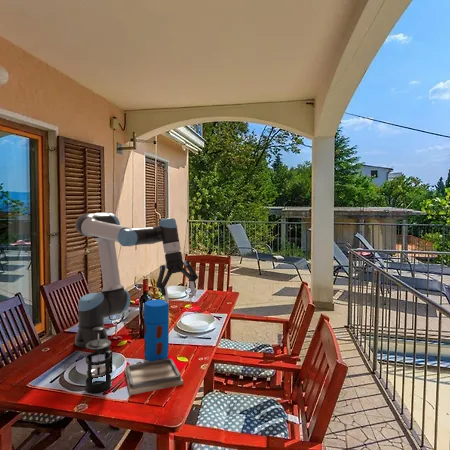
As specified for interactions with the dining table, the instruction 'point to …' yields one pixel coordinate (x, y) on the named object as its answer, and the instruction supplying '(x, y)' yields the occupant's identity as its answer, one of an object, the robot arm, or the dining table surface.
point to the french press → (99, 364)
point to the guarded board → (152, 376)
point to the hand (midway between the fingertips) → (180, 299)
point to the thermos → (156, 330)
